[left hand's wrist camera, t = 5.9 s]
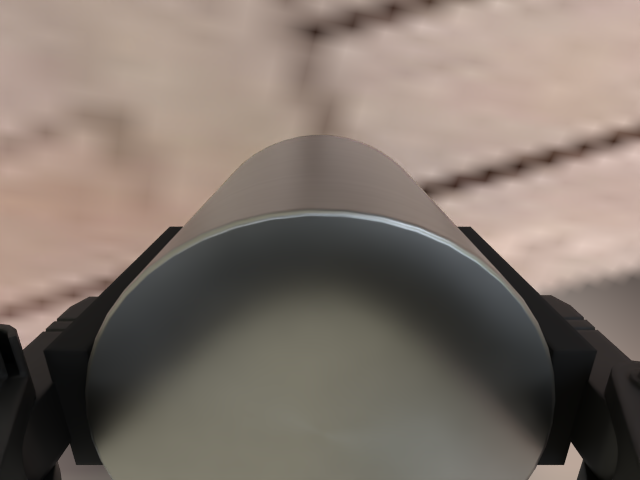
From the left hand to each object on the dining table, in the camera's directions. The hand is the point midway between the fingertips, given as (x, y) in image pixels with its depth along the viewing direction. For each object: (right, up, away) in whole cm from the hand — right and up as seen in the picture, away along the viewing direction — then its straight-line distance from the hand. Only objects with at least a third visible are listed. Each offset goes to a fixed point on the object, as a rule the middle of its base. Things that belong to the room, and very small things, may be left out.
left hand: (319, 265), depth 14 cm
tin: (0, 0, +1) cm, 1 cm away
